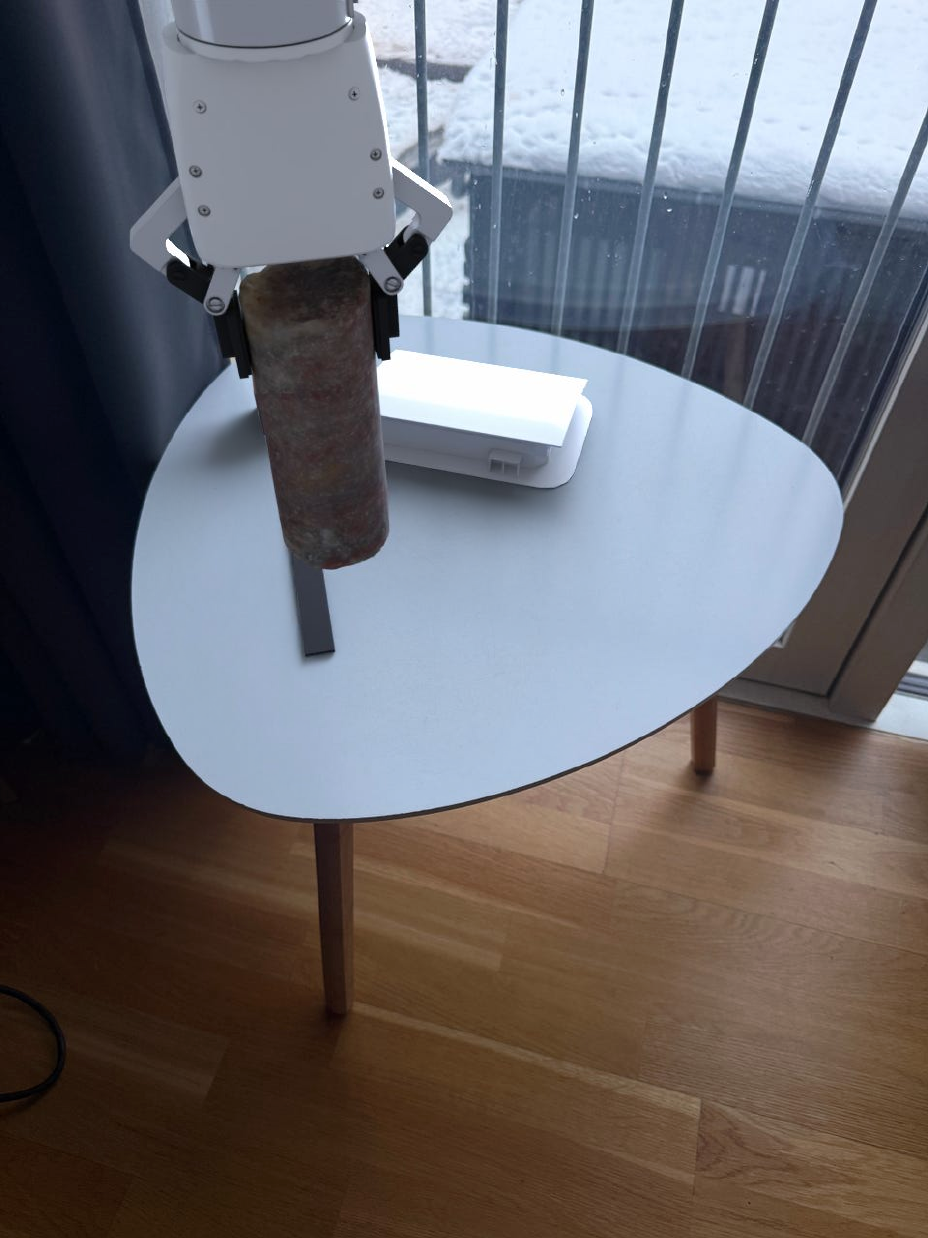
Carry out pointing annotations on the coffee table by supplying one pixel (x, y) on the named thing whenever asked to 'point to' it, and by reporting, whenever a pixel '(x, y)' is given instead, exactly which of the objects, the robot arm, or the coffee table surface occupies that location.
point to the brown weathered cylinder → (319, 406)
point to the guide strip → (313, 609)
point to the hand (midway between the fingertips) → (313, 353)
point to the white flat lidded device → (482, 419)
